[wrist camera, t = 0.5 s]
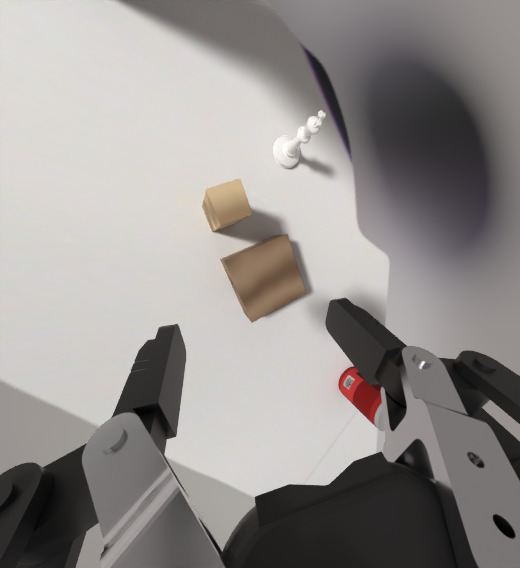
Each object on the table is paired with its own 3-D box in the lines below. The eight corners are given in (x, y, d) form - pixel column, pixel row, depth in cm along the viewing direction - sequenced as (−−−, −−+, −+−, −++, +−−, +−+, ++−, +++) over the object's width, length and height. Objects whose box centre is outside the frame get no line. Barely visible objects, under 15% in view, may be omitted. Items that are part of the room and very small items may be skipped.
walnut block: (220, 259, 32) (224, 261, 27) (274, 235, 35) (287, 234, 30) (244, 312, 35) (251, 322, 31) (292, 287, 38) (306, 293, 33)
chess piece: (300, 142, 33) (343, 101, 23) (295, 172, 33) (335, 143, 24) (275, 131, 31) (310, 82, 22) (270, 163, 32) (303, 129, 22)
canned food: (338, 397, 48) (376, 437, 38) (337, 371, 46) (377, 406, 36) (360, 387, 51) (402, 422, 41) (360, 361, 49) (404, 392, 39)
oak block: (202, 207, 29) (206, 188, 20) (225, 199, 30) (240, 178, 21) (212, 231, 30) (221, 225, 21) (234, 223, 31) (252, 214, 22)
